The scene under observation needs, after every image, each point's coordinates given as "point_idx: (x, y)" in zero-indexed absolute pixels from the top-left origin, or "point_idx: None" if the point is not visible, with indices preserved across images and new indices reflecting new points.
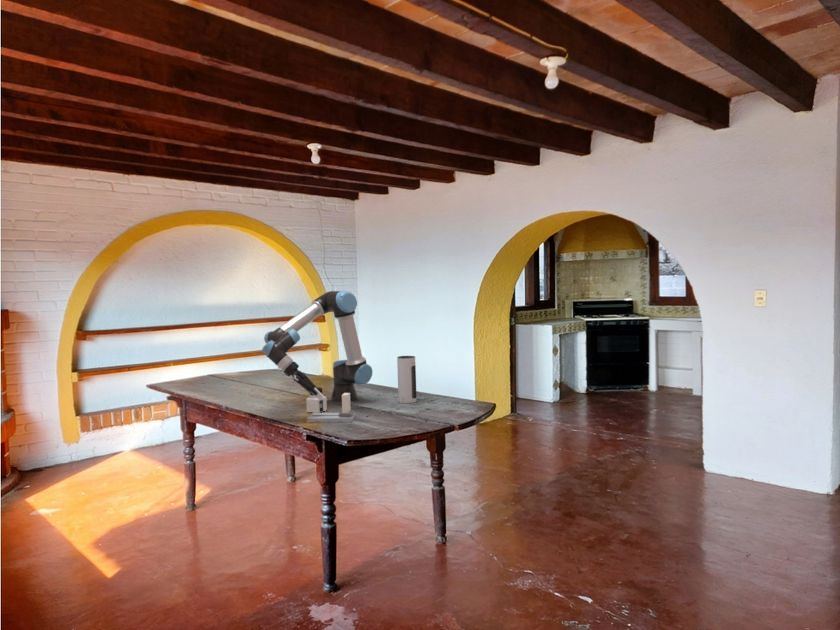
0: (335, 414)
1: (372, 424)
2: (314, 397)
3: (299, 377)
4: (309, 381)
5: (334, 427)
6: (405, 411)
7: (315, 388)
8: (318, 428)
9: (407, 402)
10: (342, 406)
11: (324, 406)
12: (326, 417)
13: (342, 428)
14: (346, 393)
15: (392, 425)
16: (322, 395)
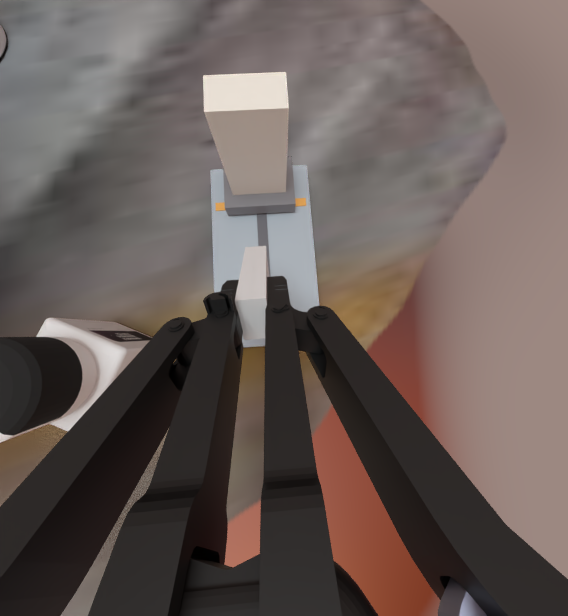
0: (245, 240)
1: (328, 102)
2: (91, 377)
3: (515, 613)
4: (147, 397)
5: (380, 214)
6: (138, 32)
7: (250, 293)
8: (400, 266)
9: (1, 34)
10: (286, 166)
11: (111, 326)
12: (299, 262)
13: (390, 184)
14: (225, 92)
15: (336, 42)
16: (260, 251)
